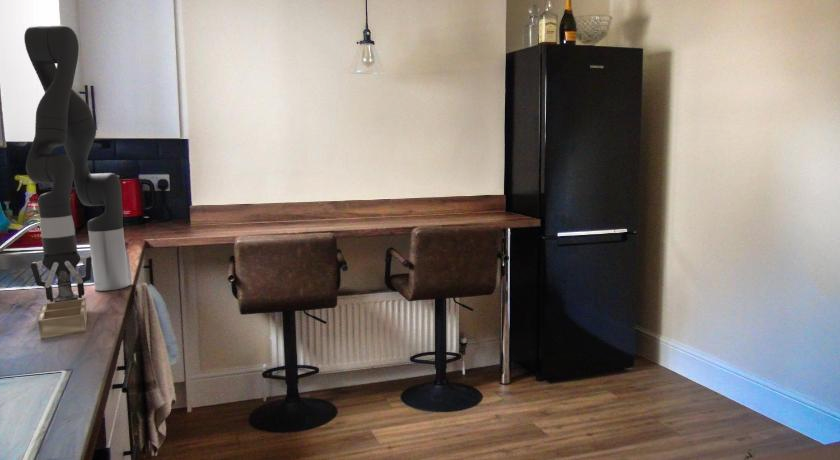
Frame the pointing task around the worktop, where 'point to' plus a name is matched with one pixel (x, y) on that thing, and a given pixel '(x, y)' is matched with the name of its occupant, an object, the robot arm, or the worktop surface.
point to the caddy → (63, 318)
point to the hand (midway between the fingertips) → (66, 299)
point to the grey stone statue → (64, 288)
